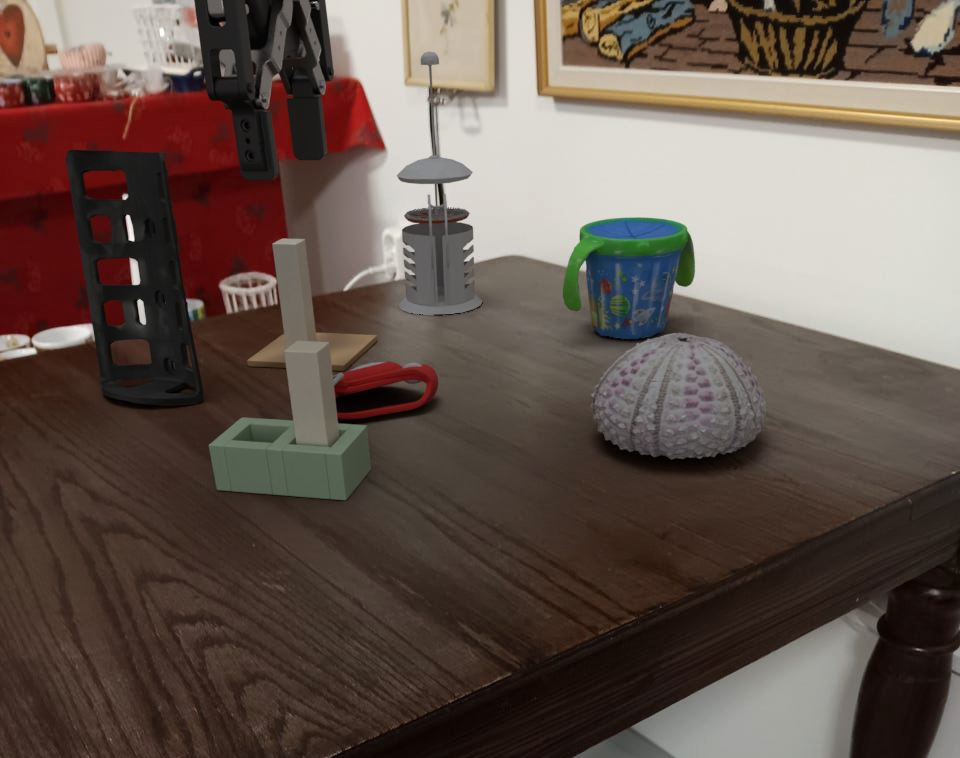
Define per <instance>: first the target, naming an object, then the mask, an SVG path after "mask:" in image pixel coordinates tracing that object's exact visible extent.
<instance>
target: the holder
mask: <svg viewBox="0 0 960 758" xmlns="http://www.w3.org/2000/svg"><path fill="white" fill-rule="evenodd" d="M166 156H167V152H155V151H153V152H152V151H151V152H150V151H149V152H148V151H121V150H86V149H85V150H84V149H70V150H68V151H66V153H65V163H66V165H65V166H66V170H67V176H68V183H69V188H70V196H71V203H72V209H73V214H74V221H75V227H76V234H77V240H78V246H79V252H80V258H81V264H82V271H83V275H84V282H85V288H86V294H87V300H88V306H89V313H90V318H91V325H92V331H93V336H94V337H93V338H94V343H95V350H96V355H97V361H98V366H99V373H100V384H101V393H102V395H103V396H106V397H107V398H111V399H115V400H118V401H125V402H129V403H132V404H140V405H150V406H165V407H167V406H168V407H171V406H172V407H173V406H191V405H197V404H200V403H203V402H204V399H205V395H204V388H203V382H202V377H201V371H200V366H199V361H198V355H197V351H196V346H195V339H194V334H193V330H192V325H191V319H190V314H189V302H188V300H187V292H186V290H185V285H184V278H183V272H182V259H181V258H180V254H181V250H180V245H179V238H178V231H177V225H176V215H175V214H174V212H173V208H174V203H173V202H172V199H171V192H170V184H169V178H168V177H169V173H170V171H169V169H168V168H167V164H166V159H165V158H166ZM100 171H102V172H103V171H104V172H107V171H108V172H109V171H110V172H118V171H121V172H122V173H124V175H125V183H126V189H127V197H126V198H125V199H100V198H99V199H98V198H97V199H96V198H92V197H89V196H88V195H87V190H86V189H87V188H86V183H85V178H84V174H85V173H89V172H100ZM96 216H101V217H102V216H103V217H107V218H108V220H109V225H110V233H111V240H110V241H109V242H101V241H98V240H95V239H94V235H93V228H92V227H93V226H92V220H91V219H93V218H95V217H96ZM127 216H129V219H130V223H131V225H132V232H133V238H134V240H129V238H130V237H129V233H128V226H127V220H126V218H127ZM106 259H107V260H108V259H112V260H113V259H115V260H117V259H132V260H135V261H136V263H137V267H138V268H137V269H138V275H139V283H138V284H104V283H103V282H102V281H101V280H100V273H99V267H98V266H99V265H98V262H99V261H102V260H106ZM139 300H140V301H142V303H143V310H144V315H145V324H143V323H142V322H141V317H140V311H139V303H138V301H139ZM110 301H118V302H120V303H121V307H122V313H123V319H124V322H123V323H122V324H121V325H112V324H109V323H107V316H106V310H105V305H104V304H106V303H108V302H110ZM130 340H131V341H132V340H146V342H147V343H148V345H149V354H150V361H151V362H150V363H133V364H117V363H115V362H114V358H113V353H112V348H111V344H113V343H114V342H119V341H130ZM187 346H188V348H187ZM187 349H188V350H187ZM188 352H189V356H188ZM189 357H190V362H189ZM190 363H191V365H190ZM149 380H150V381H149ZM151 380H152V381H151ZM128 381H149V382H146V383H142V384H140V385H135V386H129V387H127V386H126V387H125V386H121V385H119V384H118V383H120V382H121V383H122V382H128ZM189 385H190V386H193V387H194V388H195V392H178V393H173V392H175V391H178V390H181V389H183V388H185V387H187V386H189Z"/></svg>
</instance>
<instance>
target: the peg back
mask: <svg viewBox="0 0 960 758" xmlns="http://www.w3.org/2000/svg"><path fill="white" fill-rule="evenodd" d="M271 246H272V254H273V261H274V267H275V275H276V282H277V291H278V298H279V305H280V313H281V319H282V320H281V321H282V328H283V329H282V330H283V334H284V336H285V344H286V349H287V348H289V347H290V346H291V345H292V344H294V343H295V342H296V341H315V342H317V339H316V333H317V331H316V323H315V321H316V320H315V314H314V305H313V304H314V303H313V297H312V288H311V279H310V271H309V263H308V262H309V261H308V253H307V244H306V238H280V239H278V240H276V241H275V242H273V243H272V244H271Z"/></svg>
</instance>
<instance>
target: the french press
mask: <svg viewBox="0 0 960 758" xmlns="http://www.w3.org/2000/svg"><path fill="white" fill-rule="evenodd" d="M420 65H421V66H428V74H429V93H430V94H429V95H430V96H429V97H430V115H431V117H430V118H431V136H432V138H431V139H432V155H430V156H428V157H426V158H420V159H417V160H415V161H413V162H411V163H409V164H407V165H405V166H404V167H403V169H401V170H400V171H399V173H397V174H396V177H397V179H398V180H399V181H400V182H402V183H406V184H416V185H434V200H435V205H433V204H432V203H431V200H432V199H431V194H427V204H428V206H427V207H421V208H417V209H416V208H414V209H412V210H409V211H407V212H406V213H405V214H404V215H403V216H404V218H405V220H406V221H408V222H410V223H413V224H409V225H406V226H405V227H403V228H402V229H401V236H402V237H401V239H402V242H403V244H404V245H405V246H409V247H410V248H411V249H412V250H413V251H410V250H408V248H406V247H402V251H403V252H402V253H403V256H405V257H406V258H407V259H410V260H411V261H412V262H413V263H412V262H409V261H408V260H406V259H403V266H404V268H405V269H406V270H408V271H411V273H413V274H410V273H409V272H408V271H404V278H405V279H406V281H408V282H410V283H412V284H413V285H409V284H408V283H407V282H405V283H404V286H405V287H404V288H405V296H404V298H403V299H402V300H401V301H400V303H399V304H398V307H399V309H400V310H401V311H403V312H406V313H409V314H411V313H413V314H412V315H419V314H421V315H420V316H434V315H433V314H454V313H460V312H465V311H468V310H471V309H474V308H476V307H478V306H479V305H480V304H481V302H482V301H483V299H481V298H480V297H479V296H478V295H477V294H476V289H475V288H476V284H475V279H473V280H472V281H471V282H470V283H469V281H470V279H472V278H473V277H474V276H475V268H472V269H471V270H470V272H467V271H468V269H469V268H471V267H472V266H473V265H474V264H475V257H474V256H472V257H471V258H470V259H469V260H467V261H466V259H468V257H469V256H471V255H472V254H473V253H474V252H475V249H474V248H475V247H474V244H471V245H470V247H468V248H467V249H464V248H465V247H466V246H467V245H468V244H470V243H471V242H472V241H473V240H474V226H472V225H471V224H468V223H465V222H462V221H464V220H466V219H468V218H469V216H470V214H471V213H470V212H469V210H467V209H466V208H460V207H454V206H453V207H452V206H450V207H449V206H448V207H447V205H448V204H447V194H446V193H443V194H442V195H443V196H442V197H443V198H442V199H443V202H442V204H440V205H438V204H439V203H438V185H439V184H441V185H442V184H451V183H457V182H462V181H464V180H468V179H469V178H470V177H471V176H472V174H473V173H474V172H473V171H472V170H471V169H470V168H468V167H467V166H466V165H465V164H464V163H462V162H460V161H457V160H455V159H452V158H447V157H443V156H442V157H441V156H440V155H437V154H436V140H435V137H436V136H435V117H434V116H435V115H434V114H435V113H434V94H433V74H432V71H433V70H432V69H433V68H432V66H435V65H440V58H439V55H438V54H437V53H436V52H435V51H425V52H424V53H422V55H421V56H420ZM465 313H466V312H465ZM422 314H423V315H422ZM454 315H455V314H454Z"/></svg>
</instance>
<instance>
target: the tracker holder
mask: <svg viewBox="0 0 960 758" xmlns="http://www.w3.org/2000/svg"><path fill="white" fill-rule="evenodd" d="M333 382H334V391H335V399H337V397H343V396H349V395H352V394H357V393H361V392H364V391H367V390H372V389H376V388H380V387H385V386H389V385H393V384H397V383H401V382H405V383H407V384H409V385H410V384H412V385H413V384H419V383H422V382H423V383H424V384H425V385H426V386H425V391H424V393H423V395H422V396H421V397H420V398H419V399H418V400H415V401H410V402H409V401H408V402H404V403H397V404H392V405H387V406H381V407H374V408H368V409H363V410H357V411H351V412H337V419H338V421H349V420H350V421H351V420H361V419H367V418H373V417H379V416H383V415H384V416H386V415H390V414H395V413H401V412H406V411H412V410H416V409H418V408H421V407H423V406H425V405H428V404H429V402H431V401H432V400H433V399H434V397H435V396H436V395H437V392H438V389H439V377H438V374H437V372H436V370H435V369H434V368H433V367H432V366H431V365H429V364H427V363H419V362H410V363H409V362H408V363H406V364H404V365H403V366H402V365H401V364H399V363H398V362H395V361H376V362H375V361H374V362H369V363H365V364H361V365H359V366H356V367H354V368H352V369H350V370H346V371H343V372H339V373H337V374H335V375H334V374H333Z"/></svg>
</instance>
